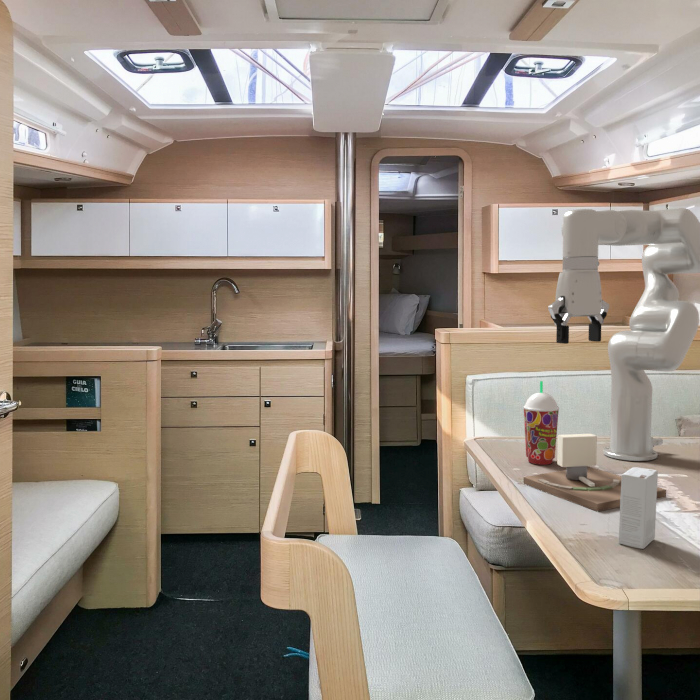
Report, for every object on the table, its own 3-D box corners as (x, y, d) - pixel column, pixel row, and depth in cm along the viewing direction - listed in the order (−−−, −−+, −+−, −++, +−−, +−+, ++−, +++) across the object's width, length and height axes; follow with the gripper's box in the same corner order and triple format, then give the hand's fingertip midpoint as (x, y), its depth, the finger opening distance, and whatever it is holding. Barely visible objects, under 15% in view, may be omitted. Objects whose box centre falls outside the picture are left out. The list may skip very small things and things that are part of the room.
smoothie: (539, 468, 160) (540, 384, 159) (515, 460, 168) (516, 380, 166) (565, 463, 164) (566, 382, 162) (541, 456, 172) (542, 378, 170)
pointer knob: (555, 475, 148) (555, 434, 147) (588, 473, 148) (589, 432, 148) (574, 488, 138) (575, 444, 137) (610, 486, 139) (611, 442, 138)
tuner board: (587, 472, 156) (588, 464, 156) (666, 496, 137) (666, 488, 137) (523, 483, 148) (523, 475, 148) (597, 511, 129) (597, 502, 129)
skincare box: (629, 534, 117) (631, 465, 116) (656, 539, 114) (658, 469, 113) (617, 544, 113) (618, 473, 111) (645, 551, 110) (647, 477, 109)
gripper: (595, 266, 158) (594, 339, 160) (538, 266, 151) (537, 343, 152) (621, 265, 151) (619, 341, 153) (562, 265, 144) (561, 345, 145)
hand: (578, 342), depth 153 cm, fingers open, 9 cm apart
